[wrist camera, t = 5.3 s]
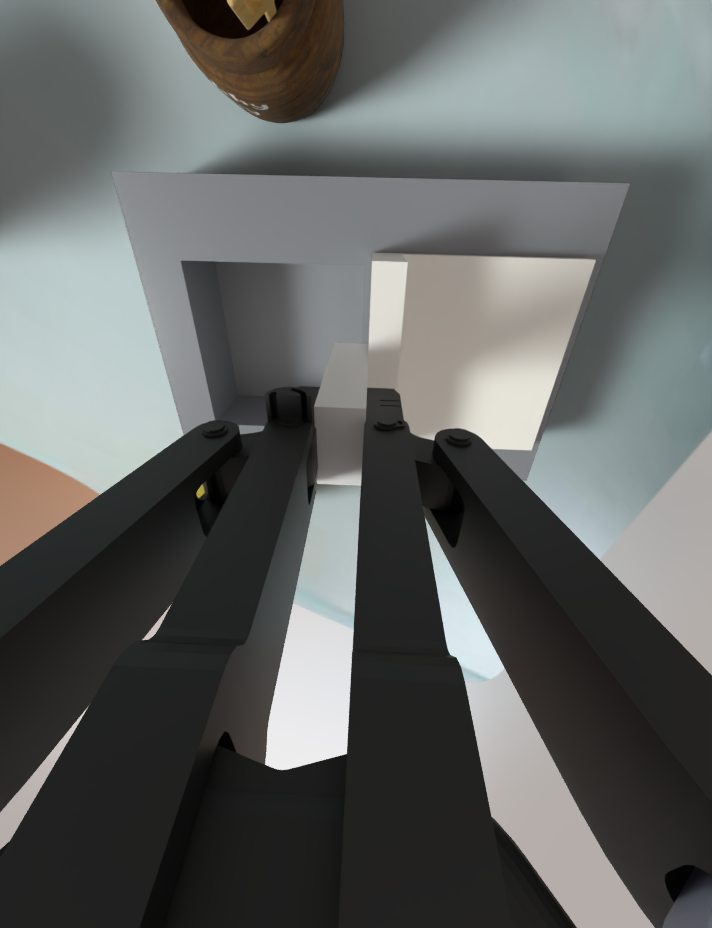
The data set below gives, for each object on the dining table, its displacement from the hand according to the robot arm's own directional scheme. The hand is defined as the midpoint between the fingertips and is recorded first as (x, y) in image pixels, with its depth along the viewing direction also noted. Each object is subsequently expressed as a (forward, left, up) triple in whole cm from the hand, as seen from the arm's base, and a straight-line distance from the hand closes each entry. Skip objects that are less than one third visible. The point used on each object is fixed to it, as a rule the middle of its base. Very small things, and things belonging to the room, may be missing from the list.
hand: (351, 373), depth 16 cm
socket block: (0, 0, -7) cm, 7 cm away
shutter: (0, +5, -2) cm, 6 cm away
